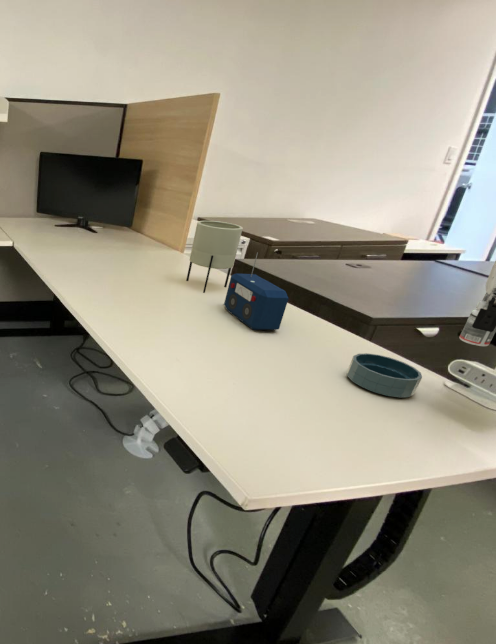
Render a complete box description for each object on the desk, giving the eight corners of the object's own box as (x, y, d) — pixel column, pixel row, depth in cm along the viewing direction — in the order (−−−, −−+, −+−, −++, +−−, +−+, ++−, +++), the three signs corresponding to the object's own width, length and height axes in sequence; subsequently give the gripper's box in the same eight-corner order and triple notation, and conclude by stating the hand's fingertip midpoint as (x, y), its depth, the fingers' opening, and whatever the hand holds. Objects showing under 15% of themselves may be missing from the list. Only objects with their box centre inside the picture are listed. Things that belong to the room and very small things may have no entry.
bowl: (427, 397, 105) (436, 378, 103) (380, 401, 102) (389, 381, 100) (376, 370, 117) (384, 352, 115) (333, 372, 114) (340, 354, 112)
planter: (236, 293, 168) (253, 229, 159) (195, 293, 166) (210, 228, 156) (215, 281, 182) (230, 221, 172) (177, 280, 179) (190, 219, 170)
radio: (219, 307, 153) (234, 247, 145) (244, 307, 154) (260, 248, 146) (252, 332, 135) (271, 265, 126) (280, 333, 136) (301, 266, 127)
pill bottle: (477, 339, 98) (497, 301, 94) (494, 348, 93) (515, 309, 90) (453, 336, 98) (471, 298, 95) (468, 345, 94) (487, 306, 90)
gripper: (562, 245, 78) (509, 343, 86) (549, 234, 90) (504, 321, 98) (503, 237, 83) (457, 331, 90) (498, 227, 95) (458, 311, 102)
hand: (482, 325), depth 94 cm, fingers closed on pill bottle, 4 cm apart
